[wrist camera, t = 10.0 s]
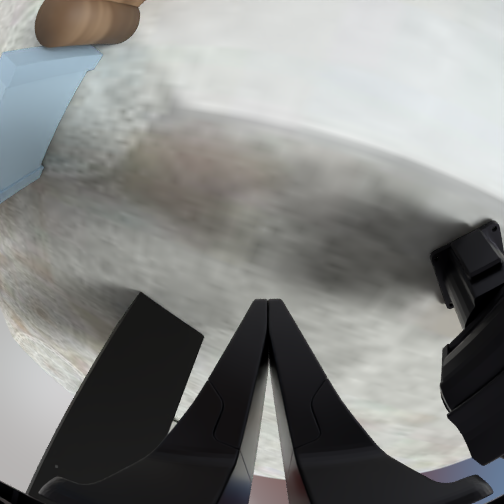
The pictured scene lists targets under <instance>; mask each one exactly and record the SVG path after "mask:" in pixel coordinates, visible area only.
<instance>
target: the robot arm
mask: <svg viewBox="0 0 504 504" xmlns="http://www.w3.org/2000/svg"><path fill="white" fill-rule="evenodd" d="M494 226H495V227H494ZM493 227H494V229H492V228H493ZM436 256H438V258H436V259H435V257H436ZM430 259H431V262H432V265H433V267H434V270H435V273H436V276H437V279H438V282H439V285H440V288H441V291H442V294H443V297H444V301H445V304H446V306H447V308H448V309H451V308H455V310H456V313H457V315H458V318H459V321H460V323H461V326H462V328H463V331H462V332H461V333H460V334H459V335H458V336H457V337H456V338H455V339H454V340H453V341H452V342H451V343H450V344H447V345H446V346H445V347H444V348H443V350H442V373H441V383H440V390H441V398H442V400H443V403H444V405H445V407H446V409H447V410H448V412H449V413H448V414H447V417H448V419H449V420H450V421H451V422H452V423H453V424H454V425H455V426H456V427H457V428H458V430H459V431H460V433H461V434H462V436H463V438H464V440H465V442H466V444H467V446H468V449H469V451H470V454H471V456H472V458H473V459H474V460H476V461H477V462H478V463H479V464H481V465H483V466H485V465H487V464H488V463H490V462H492V461H494V460H496V459H497V458H499V457H500V458H502V459H504V249H503V243H502V237H501V232H500V227H499V224H498V223H497V222H496V221H491V222H489V223H487V224H485V225H484V226H482V227H480V228H478V229H476V230H474V231H472V232H470V233H469V234H467V235H465V236H463V237H461V238H459V239H457V240H455V241H453V242H451V243H449V244H447V245H445V246H443V247H441V248H439V249H437V250H435V251H433V252H432V253H431V255H430ZM268 367H270V375H271V382H272V389H273V396H274V403H275V409H276V416H277V423H278V430H279V437H280V444H281V451H282V458H283V465H284V472H285V479H286V486H287V493H288V500H289V504H472V503H475V502H477V501H479V500H481V499H483V498H485V497H487V496H489V495H491V494H493V490H492V488H491V487H490V486H489V484H488V483H487V482H485V481H484V480H483V479H482V478H481V477H479V476H478V475H472V476H469V477H466V478H463V479H461V480H458V481H455V482H452V483H440V482H436V481H433V480H431V479H429V478H427V477H426V476H424V475H422V474H420V473H418V472H416V471H415V470H413V469H411V468H409V467H407V466H406V465H404V464H402V463H400V462H399V461H397V460H395V459H394V458H392V457H390V456H389V455H387V454H386V453H385V452H384V451H383V450H381V449H380V448H379V447H378V446H377V444H376V443H375V442H374V441H373V440H372V438H371V437H370V436H369V435H368V434H367V432H366V431H365V430H364V429H363V427H362V426H361V425H360V424H359V422H358V421H357V420H356V419H355V417H354V416H353V415H352V414H351V412H350V411H349V410H348V408H347V407H346V406H345V404H344V403H343V401H342V400H341V398H340V397H339V395H338V394H337V392H336V391H335V389H334V387H333V386H332V384H331V382H330V381H329V379H328V378H327V376H326V374H325V372H324V371H323V369H322V367H321V365H320V364H319V362H318V360H317V359H316V357H315V355H314V354H313V352H312V350H311V348H310V347H309V345H308V343H307V342H306V340H305V338H304V336H303V335H302V333H301V331H300V330H299V328H298V326H297V325H296V323H295V321H294V319H293V318H292V316H291V314H290V313H289V311H288V309H287V308H286V306H285V304H284V302H283V301H282V300H281V299H269V300H267V299H255V300H254V301H253V303H252V304H251V306H250V308H249V310H248V311H247V313H246V315H245V317H244V318H243V320H242V322H241V324H240V325H239V327H238V329H237V330H236V332H235V334H234V336H233V337H232V339H231V341H230V343H229V344H228V346H227V348H226V349H225V351H224V353H223V355H222V356H221V358H220V360H219V361H218V363H217V365H216V366H215V368H214V370H213V371H212V373H211V375H210V377H209V378H208V380H209V381H206V383H205V385H204V386H203V388H202V390H201V391H200V393H199V394H198V396H197V397H196V399H195V401H194V402H193V403H192V405H191V406H190V407H189V409H188V410H187V411H186V413H185V414H184V415H183V417H182V418H181V419H180V420H179V421H178V423H177V424H176V425H175V426H174V428H173V429H172V430H171V431H170V432H169V434H168V435H167V436H166V437H165V438H164V440H163V441H162V442H161V443H160V444H159V445H158V446H157V448H156V449H155V450H153V451H152V452H151V453H150V454H149V455H147V456H146V457H145V458H143V459H141V460H139V461H138V462H136V463H134V464H132V465H130V466H128V467H126V468H125V469H123V470H121V471H119V472H117V473H115V474H113V475H111V476H109V477H107V478H105V479H103V480H101V481H98V482H96V483H91V484H79V483H76V482H73V481H70V480H67V479H65V478H61V477H55V478H53V479H52V480H50V481H49V482H48V483H46V484H45V485H44V486H43V487H42V488H41V490H40V491H39V495H41V496H43V497H45V498H47V499H49V500H51V501H53V502H56V503H58V504H248V503H249V497H250V491H251V485H252V484H251V483H252V479H253V473H254V466H255V460H256V453H257V447H258V440H259V433H260V426H261V419H262V412H263V405H264V398H265V391H266V383H267V376H268ZM0 504H46V503H43V502H41V501H39V500H37V499H35V498H33V497H31V496H29V495H27V494H25V493H23V492H21V491H19V490H17V489H15V488H14V487H12V486H9V485H8V484H6V483H4V482H2V481H0ZM485 504H504V494H503V495H501V496H499V497H497V498H495V499H494V500H491V501H489V502H487V503H485Z"/></svg>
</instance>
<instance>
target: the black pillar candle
mask: <svg viewBox="0 0 504 504" xmlns="http://www.w3.org/2000/svg"><path fill="white" fill-rule="evenodd" d="M203 339H204V336H203V335H202V334H200V333H199V332H197V331H196V330H194V329H193V328H191V327H190V326H188V325H187V324H185V323H184V322H182V321H181V320H179V319H178V318H176V317H175V316H173V315H172V314H171V313H169V312H168V311H166V310H165V309H163V308H162V307H161V306H159V305H158V304H156V303H155V302H154V301H152V300H151V299H149V298H148V297H147V296H145V295H144V294H142V293H141V292H140V293H139V295H138V296H137V298H136V299H135V300H134V302H133V303H132V304H131V306H130V307H129V309H128V310H127V312H126V313H125V314H124V316H123V317H122V319H121V320H120V321H119V323H118V324H117V326H116V327H115V329H114V331H113V332H112V334H111V335H110V337H109V339H108V340H107V342H106V343H105V345H104V347H103V348H102V350H101V352H100V353H99V355H98V357H97V358H96V360H95V362H94V363H93V365H92V367H91V368H90V370H89V372H88V374H87V375H86V377H85V379H84V380H83V382H82V384H81V386H80V387H79V389H78V391H77V392H76V395H75V396H74V398H73V400H72V402H71V404H70V405H69V407H68V409H67V411H66V413H65V414H64V416H63V418H62V420H61V422H60V424H59V426H58V428H57V429H56V431H55V433H54V435H53V437H52V439H51V441H50V443H49V445H48V447H47V449H46V451H45V453H44V455H43V457H42V459H41V461H40V463H39V465H38V467H37V470H36V472H35V474H34V476H33V478H32V480H31V483H30V485H29V487H28V489H27V491H26V493H25V494H27V495H29V496H31V497H33V498H35V499H37V500H39V501H41V502H43V503H46V504H58V503H56V502H53V501H51V500H49V499H47V498H45V497H43V496H41V495H39V491H40V490H41V488H42V487H43V486H44V485H45V484H46V483H48V482H49V481H50V480H52V479H53V478H55V477H61V478H65V479H67V480H70V481H73V482H76V483H79V484H91V483H96V482H98V481H101V480H103V479H105V478H107V477H109V476H111V475H113V474H115V473H117V472H119V471H121V470H123V469H125V468H126V467H128V466H130V465H132V464H134V463H136V462H138V461H139V460H141V459H143V458H145V457H146V456H147V455H149V454H150V453H151V452H152V451H153V450H155V449H156V448H157V446H158V445H159V444H160V443H161V442H162V441H163V440H164V438H165V437H166V436H167V435H168V433H169V430H170V427H171V424H172V422H173V419H174V416H175V414H176V411H177V408H178V405H179V403H180V400H181V397H182V395H183V392H184V389H185V387H186V384H187V381H188V379H189V376H190V373H191V371H192V368H193V365H194V363H195V360H196V357H197V355H198V352H199V349H200V347H201V344H202V341H203Z"/></svg>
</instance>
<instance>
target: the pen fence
mask: <svg viewBox="0 0 504 504" xmlns="http://www.w3.org/2000/svg"><path fill="white" fill-rule="evenodd" d="M144 1H145V0H45V1H44V2H43V4H42V5H41V7H40V9H39V11H38V14H37V17H36V21H35V34H36V37H37V40H38V41H39V43H40V44H41V45H42V46H44V47H47V48H53V47H63V46H75V45H94V44H118V43H122V42H124V41H126V40H127V39H128V38H130V37H131V36H132V35H133V33H134V32H135V30H136V29H137V27H138V24H139V20H140V11H139V8H138V7H139V6H140V5H141V4H142V3H143V2H144Z"/></svg>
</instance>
